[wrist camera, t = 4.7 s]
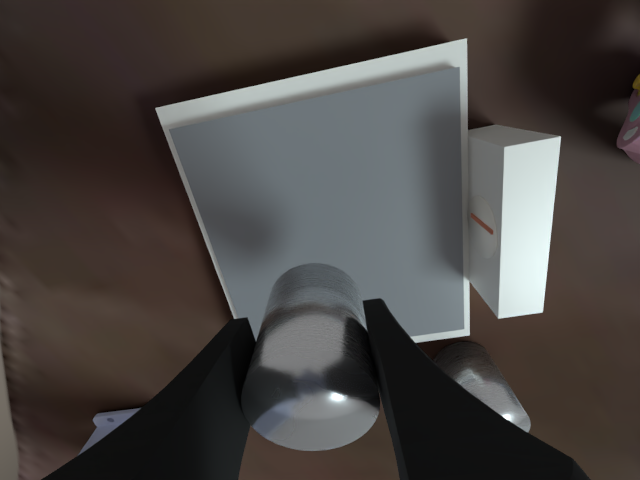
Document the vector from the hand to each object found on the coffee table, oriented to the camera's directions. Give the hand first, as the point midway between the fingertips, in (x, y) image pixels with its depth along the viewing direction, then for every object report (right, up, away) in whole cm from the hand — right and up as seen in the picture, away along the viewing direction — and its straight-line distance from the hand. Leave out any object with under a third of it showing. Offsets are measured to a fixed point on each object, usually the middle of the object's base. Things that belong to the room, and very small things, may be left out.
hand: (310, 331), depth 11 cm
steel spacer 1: (0, 0, +3) cm, 3 cm away
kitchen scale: (+1, +4, +8) cm, 9 cm away
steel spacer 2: (+10, -6, +12) cm, 17 cm away
